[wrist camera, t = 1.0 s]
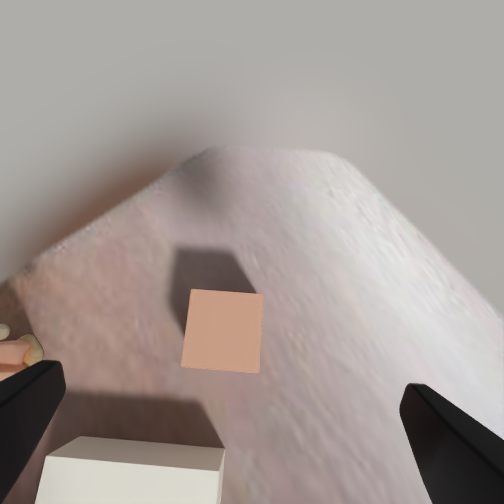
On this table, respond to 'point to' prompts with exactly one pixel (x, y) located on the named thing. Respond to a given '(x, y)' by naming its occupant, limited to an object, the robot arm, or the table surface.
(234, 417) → the table surface
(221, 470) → the cream box
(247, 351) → the terracotta block
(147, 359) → the table surface
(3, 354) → the grandmother figurine
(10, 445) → the robot arm
